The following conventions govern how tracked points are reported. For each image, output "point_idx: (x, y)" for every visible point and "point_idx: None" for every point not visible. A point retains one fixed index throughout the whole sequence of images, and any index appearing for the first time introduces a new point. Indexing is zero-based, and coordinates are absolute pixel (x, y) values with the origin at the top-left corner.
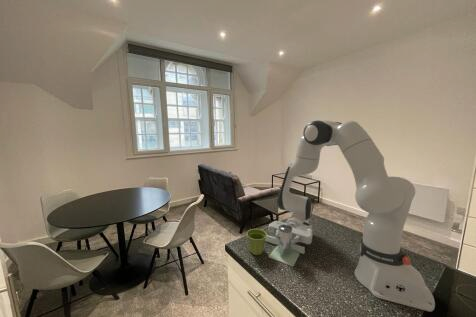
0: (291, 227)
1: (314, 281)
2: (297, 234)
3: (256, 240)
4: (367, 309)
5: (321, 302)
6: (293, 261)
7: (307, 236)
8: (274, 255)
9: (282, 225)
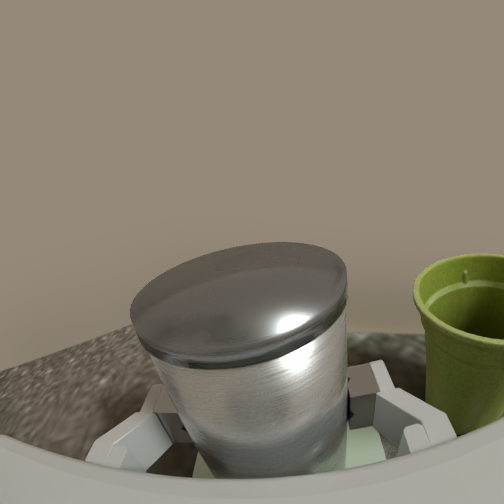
0: (137, 327)
1: (110, 399)
2: (97, 464)
3: (435, 277)
4: (17, 369)
5: (111, 346)
6: (206, 466)
7: (5, 438)
8: (348, 446)
9: (310, 292)
